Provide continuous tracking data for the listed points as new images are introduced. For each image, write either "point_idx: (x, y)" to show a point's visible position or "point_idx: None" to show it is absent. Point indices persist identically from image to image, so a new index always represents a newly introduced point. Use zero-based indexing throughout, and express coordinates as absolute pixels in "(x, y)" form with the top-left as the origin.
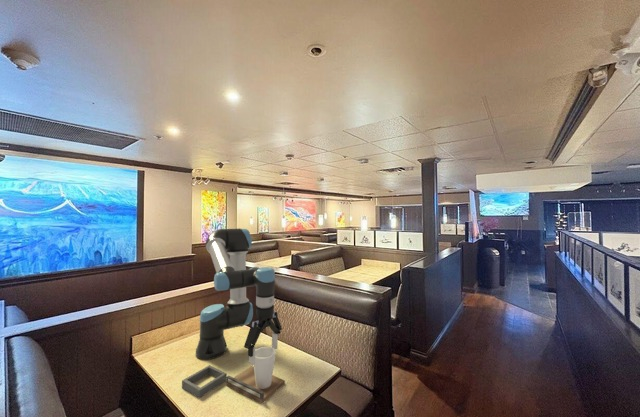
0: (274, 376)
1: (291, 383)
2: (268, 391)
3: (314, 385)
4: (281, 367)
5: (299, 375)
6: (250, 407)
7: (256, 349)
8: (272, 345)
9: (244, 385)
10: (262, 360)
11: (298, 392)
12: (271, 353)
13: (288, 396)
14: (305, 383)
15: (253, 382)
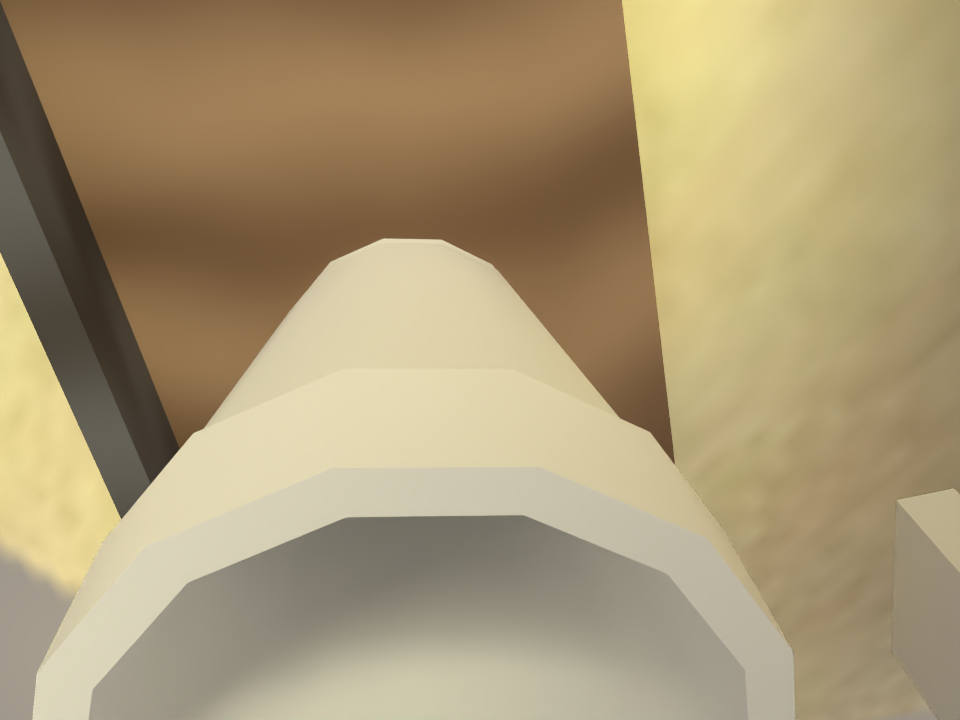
0: (645, 324)
1: (725, 514)
2: None
3: (854, 696)
4: (954, 111)
5: (923, 463)
6: (69, 522)
7: (331, 491)
8: (944, 587)
9: (40, 331)
10: None
11: None
12: (687, 648)
13: None
14: (827, 617)
15: (301, 209)
